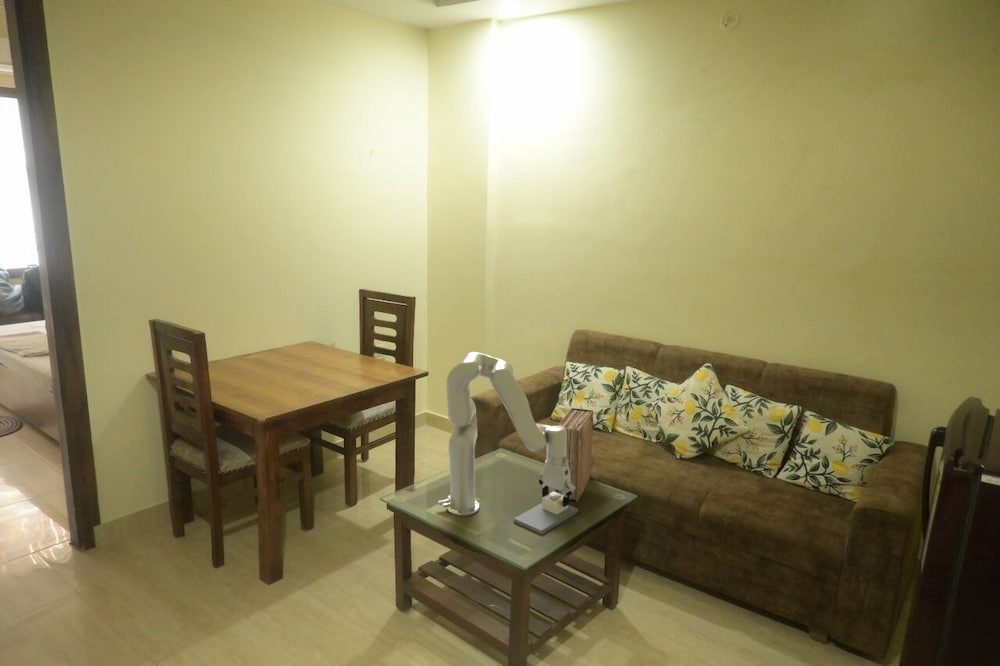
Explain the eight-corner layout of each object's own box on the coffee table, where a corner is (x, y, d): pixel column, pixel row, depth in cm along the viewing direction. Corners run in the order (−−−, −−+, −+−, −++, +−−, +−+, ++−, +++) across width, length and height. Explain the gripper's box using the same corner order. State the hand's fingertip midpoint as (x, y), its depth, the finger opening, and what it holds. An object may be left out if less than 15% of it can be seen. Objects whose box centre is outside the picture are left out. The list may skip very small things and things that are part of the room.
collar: (556, 514, 229) (557, 503, 228) (542, 508, 233) (542, 497, 232) (568, 507, 234) (568, 496, 233) (553, 502, 238) (553, 491, 237)
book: (577, 502, 241) (579, 430, 235) (554, 498, 244) (555, 427, 238) (591, 476, 264) (593, 410, 258) (570, 473, 268) (571, 407, 262)
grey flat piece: (541, 534, 218) (541, 517, 216) (513, 522, 226) (513, 505, 225) (577, 512, 233) (578, 496, 232) (550, 501, 242) (551, 486, 241)
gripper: (581, 462, 226) (580, 505, 230) (544, 450, 238) (543, 491, 241) (569, 468, 221) (568, 512, 224) (532, 455, 233) (531, 497, 236)
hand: (555, 501), depth 233 cm, fingers open, 9 cm apart
